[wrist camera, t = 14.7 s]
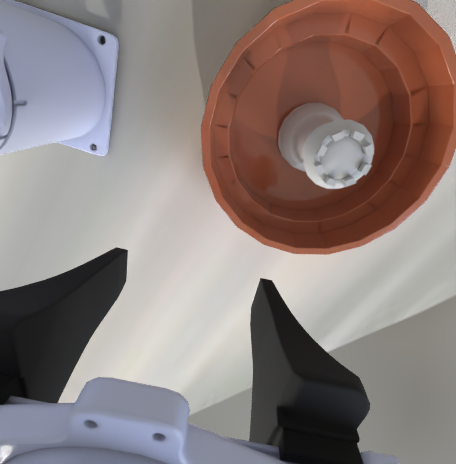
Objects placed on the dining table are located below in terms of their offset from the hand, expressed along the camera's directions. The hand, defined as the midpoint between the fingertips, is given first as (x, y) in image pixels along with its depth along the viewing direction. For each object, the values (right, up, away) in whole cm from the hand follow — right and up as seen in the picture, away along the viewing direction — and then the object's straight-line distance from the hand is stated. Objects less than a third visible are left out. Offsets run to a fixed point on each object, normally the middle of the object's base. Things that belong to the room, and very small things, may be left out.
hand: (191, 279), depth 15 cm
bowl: (+8, +9, +5) cm, 13 cm away
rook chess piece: (+8, +9, +5) cm, 13 cm away
